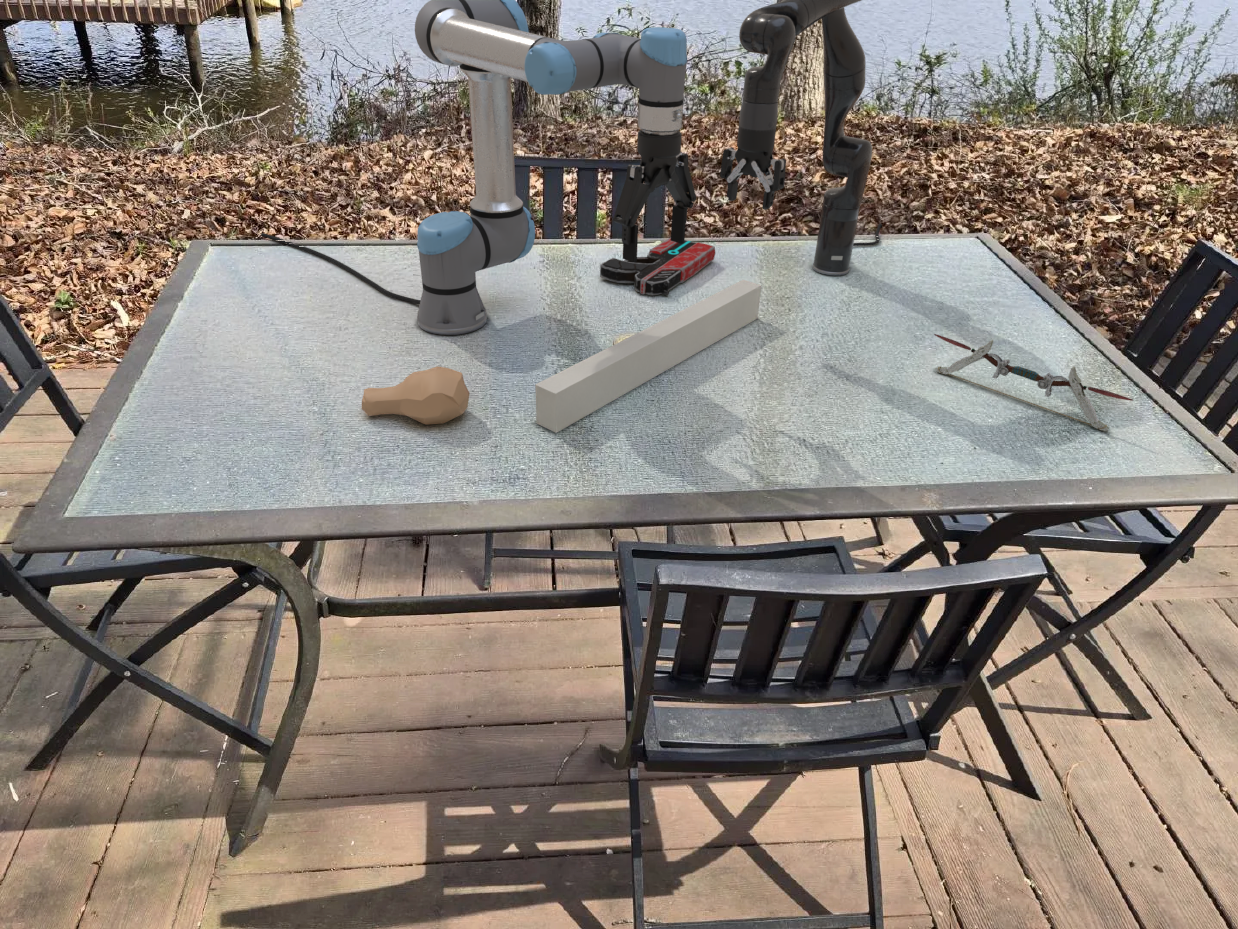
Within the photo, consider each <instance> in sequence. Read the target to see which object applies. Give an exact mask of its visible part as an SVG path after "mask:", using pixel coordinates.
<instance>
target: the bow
mask: <svg viewBox="0 0 1238 929" xmlns="http://www.w3.org/2000/svg"><path fill="white" fill-rule="evenodd" d="M934 336H935V337H937V338H939V339H941V340H943V341H944V342H946V343H948V344H951V345H953V346H956V347H959V348H961V349H963V350H964V349H965V350H968V351H970V352H971V353H972V354H970V355H968V356H965V357H963V358H960V359H958V360H956V361H954V362H953V363H952V364H951V365H949V366H937V367H935V371H936V372H938V373H939V374H942V375H949V376H951V377H954V378H957V379H959V380H962V381H965V382H968V383H970V384H971V383H972V384H973V385H975V386H979V387H983V388H985V389H988V390H991V391H994V392H996V393H999V394H1002V395H1005V396H1007V397H1011V398H1013V399H1016V400H1019V401H1022V402H1024V403H1027V404H1030V405H1033V406H1036V407H1039V408H1041V409H1044V410H1047V411H1050V412H1053V413H1054V414H1059V415H1061V416H1064V417H1067V418H1069V419H1072V420H1075V421H1078V422H1081V423H1084V424H1087V425H1089V426H1092V427H1093V428H1095V429H1097V430H1099V431H1103V432H1107V431H1108V430H1109V429H1110V426H1108V425H1107V424H1105V423H1103V421H1101V420H1100V419H1098V415H1097V412H1096V409H1095V408H1094V405H1093V404H1092V402H1091V400H1090V399H1089V398H1088V396H1086V394H1085V390H1088V391H1090V392H1092V393H1096V394H1099V395H1102V396H1105V397H1110V398H1114V399H1118V400H1125V401H1130V402H1131V401H1132V402H1133V401H1134V399H1132V398H1131V397H1127V396H1124V395H1121V394H1118V393H1116V392H1112V391H1109V390H1105V389H1101V388H1098V387H1093V386H1087V385H1083V384H1082V380H1081V378H1080V376H1079V375H1078V373H1077V368H1076V366H1074V365H1073V366H1072V367H1071V368H1070V371H1069V374H1068V378H1067V377H1065V376H1062V375H1055V376H1054V375H1053V374H1051V373H1050V372H1047V374H1045V375H1044V376H1041V375H1040V374H1039V373H1038V372H1036V371H1035V370H1031V369H1029V368H1026V367H1022V366H1019V365H1013V366H1012V365H1010V363H1011V360H1010V359H1009V358H1008V359H1002V357H1000V355H998V354H996V353H992V352H991V353H989V352H990V351H991V350H992V347H993V344H994V339H991V340H990V341H989V342H987V343H986V344H984V345H983V346H980V347H979V348H977V349H975V348H971V347H970V346H969V345H967V344H964V343H963V342H962V343H961V342H959V341H957V340H954V339H951V338H949V337H946V336H943V335H939V334H936V333H934ZM983 359H985V360H987V361H988V363H990V364H991V365H992V366H993V367H995V368H996V369H995V371H994V372H993V375H992V377H991V378H992V379H995V380H997V379H998V378H999V376H1000V375H1001V376H1003V377H1007V375H1009V373H1010V374H1013V375H1015V376H1019V377H1021V378H1025V379H1027V380H1030V381H1034V382H1037V384H1036V385H1037V387H1038V388H1039V389H1041V390H1045V391H1044V397H1047V398H1050V397H1051V396H1052V391H1053V390H1052V387H1068V388H1069V389H1070V390H1071V392H1072V394H1073V396H1075V398H1076V400H1077V402H1078V404H1079V406H1080V408H1081V410H1082V412H1083V415H1084V416H1085V418H1086V419H1087V422H1086V421H1083V420H1081V419H1078V418H1075V417H1072V416H1071V415H1070V416H1069V415H1067V414H1064V413H1061V412H1057V411H1056V410H1052V409H1050V408H1047V407H1045V406H1042V405H1038V404H1035V403H1033V402H1030V401H1027V400H1025V399H1021V398H1019V397H1016V396H1014V395H1010V394H1007V393H1004V392H1002V391H999V390H996V389H993V388H991V387H987V386H985V385H983V384H979V383H976V382H974V381H971V380H968V379H965V378H963V377H960V376H957V375H954V374H953V373H955V372H959V371H961V370H962V369H964V368H965V367H968V366H970V365H971V364H973V363H976V362H978V361H980V360H983Z"/></svg>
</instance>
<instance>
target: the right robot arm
mask: <svg viewBox="0 0 1238 929" xmlns="http://www.w3.org/2000/svg"><path fill="white" fill-rule="evenodd" d="M861 1H862V0H781V1H779V2H776V3H771V4H768V5H765V6H762V7H760V8H757V9H755V10H753V11H752V12H750V13H748V15H747V16H746V17H745V18H744V20H743V21H742V23H741V25H740V27H739V33H738V39H739V42H740V45H741V47H742V48H743V49H744V50H745V51H747V52H749V53H754V54H760V55H765V56H767V59H766V60H765V63H764V64H763V65H760V66H753V67H749V68H748V69H747V70H746V71H745V74H744V82H743V93H742V101H741V106H740V110H739V118H738V130H737V141H736V147H737V149H735V148H734V147H732V146H731V147H727V148H725V149H724V150H723V151H722V158H721V159H722V160H721V165H720V171H719V172H720V174H719V176H720V178H721V179H724V180H726V182H727V188H726V189H727V190H726V197H727V200H728V201H729V202H734V201H736V200H737V197H738V187H739V181H738V180H739V179H740V178H741V176H742V175H743V176H750V177H752V178H758V181H759V182H760V183H761V184H762V186H763V189H764V192H763V198H762V207H761V208H762V210H764V211H767V210H770V209H771V207H773V204H774V199H775V192H777V191H779V190H782V189H784V188H785V181H786V169H787V160H786V158H780V159H778V158H774V156H773V152H774V149H775V141H776V132H777V124H778V116H779V95H780V89H781V82H782V77H783V74H784V71H785V68H786V65H787V62H788V61H789V60H788V59H789V57H790V54H791V52H792V50H793V48H794V47H793V46H794V44H795V41H796V37H798V36H799V35H800V34H802V33H804V31H806V30H807V29H809V28H810V27H812V26H813V25H814V24H816V23H817V22H818V21H820V20H821V27H822V28H821V29H822V44H823V45H822V46H823V49H822V50H823V67H822V68H823V91H824V92H823V95H824V125H823V126H824V127H823V141H822V142H823V143H822V146H823V147H822V165H823V168H824V171H825V172H826V173H827V174H831V175H834V176H839V177H842V178H846V182H845V185H843V186H839V187H837V186H836V187H832V188H829V189H827V190H825V192H824V195H823V199H822V207H821V213H820V219H819V225H818V226H819V227H818V233H817V238H816V243H815V244H816V246H815V252H814V256H813V257H814V259H813V263H812V269H813V271H815V272H817V273H818V274H822V275H825V276H832V277H833V276H837V277H838V276H844V275H846V274H848V273H849V272H850V266H851V260H852V255H853V250H854V247H868V246H875V245H877V244H878V243H879V242H880V236H879V234H880V230H881V229H882V228H883V224H882V223H881V222H880V223H879V224H878V225H877V228H876V231H875V235H874V236H875V239H876V240H875V241H870V242H855V238H856V232H857V228H858V221H859V216H860V210H861V204H862V200H863V197H864V194H865V191H866V190H865V189H866V186H867V181H868V177H869V172H870V169H871V164H872V159H873V157H872V156H873V145H872V143H871V141H870V140H867V139H865V138H864V139H863V138H858V137H854V136H853V137H852V136H848V135H846V134H845V121H846V118H847V117H848V115H849V113H850V111H851V110H852V109H853V107H854V106H855V104H856V103H857V101H858V100H859V99H860V97H861V95H862V94H863V92H864V89H865V85H866V66H867V65H866V63H867V62H866V54H865V51H864V49H863V46H862V44H861V42H860V40H859V39H858V37H857V34H856V33H855V31H854V30H853V28H852V27H851V25H850V23H849V19H848V18H847V15H846V10H845V8H846V7H848V6H851V5H853V4H857V3H859V2H861ZM734 160H735V161H736V162H737V165H736V166H735V167H734V168H733V163H734ZM770 167H772V170H773V172H772V171H771V168H770ZM732 169H733V170H732ZM876 236H879V237H876ZM877 239H879V240H877Z"/></svg>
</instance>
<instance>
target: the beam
mask: <svg viewBox="0 0 1238 929" xmlns="http://www.w3.org/2000/svg"><path fill="white" fill-rule="evenodd" d="M761 292H762V285H761V284H759V283H755V282H752V281H749V280H746V279H741V280H739V281H737V282H735V283H733V284H732V285H730V286H728V287H727V286H726V288H723V289H721V290H720V291H717V292H715V293H714V294H712V295H710V296H708V297H706V298H704V299H702V300H700V301H697V302H696V303H694V304H692V305H690V306H688V307H686V308H684V309H681V310H680V311H678V312H676V313H674V314H672V315H670V316H668V317H666V318H664V319H662V320H660V321H658V322H656V323H654V324H652V325H651V326H648V327H646V328H644V329H642V330H640V331H638V332H637V333H634V334H632V335H631V336H628V337H626V338H624V339H622V340H620V341H619V342H617V343H615V344H613V345H611V346H609V347H606V348H604V349H603V350H601V351H599V352H596V353H595V354H593V355H591V356H589V357H587V358H585V359H583V360H581V361H579V362H577V363H575V364H573V365H571V366H569V367H567V368H565V369H563V370H561V371H560V372H557V373H555V374H553V375H551V376H549V377H547V378H545V379H543V380H542V381H539V382H537V383H536V384H535V385H534V387H535V388H534V389H535V416H536V417H535V418H536V419H535V420H536V421H535V423H536V424H537V425H539V426H541V427H543V428H545V429H546V430H547V429H548V430H549V431H551V432H553V433H555V434H557V433H559V432H561V431H562V430H564V429H566V428H567V427H569V426H571V425H572V424H575V423H576V422H578V421H581V419H584V418H585V417H587V416H589V415H591V414H592V413H594V412H596V411H597V410H599V409H601V408H603V407H604V406H605V407H606V406H607V405H608V404H610V403H611V402H613V401H615V400H617V399H619V398H620V397H623V396H624V395H625V394H627V393H630V392H631V391H633V390H635V389H636V388H638V387H640V386H641V385H643V384H645V383H647V382H649V381H650V380H652V379H654V378H656V377H657V376H660V375H661V374H663V373H664V372H667V371H668V370H670V369H672V368H673V367H675V366H677V365H678V364H680V363H682V362H684V361H685V360H688V359H689V358H691V357H692V356H695V355H697V353H700V352H701V351H703V350H705V349H707V348H708V347H710V346H712V345H713V344H715V343H717V342H719V341H722V339H724V338H726V337H728V336H729V335H731V334H733V333H735V332H737V331H738V330H740V329H742V328H743V327H745V326H747V325H749V324H751V323H753V322H754V321H756V320H758V318H759V311H760V302H761Z"/></svg>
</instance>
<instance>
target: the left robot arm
mask: <svg viewBox="0 0 1238 929" xmlns="http://www.w3.org/2000/svg"><path fill="white" fill-rule="evenodd" d="M414 36H415V40H416V44H417V46H418V48H419V49H420V50H421V52H422V53H423V54H424V55H425V56H426V57H427V58H428V59H430V60H431V61H433V62H435V63H438V64H441V65H444V66H449V67H458V66H459V70H460V71H461V72H462V73H463V74H464V75H465V76H466V78H467V81H468V82H467V83H468V96H469V110H470V125H471V126H470V127H471V139H472V155H473V169H474V170H473V171H474V186H475V196H474V197H473V198H472V200H470V202H469V212H470V213H469V214H470V215H469V214H468V213H466V212H464V211H458V210H451V211H442V212H438V213H434V214H432V215H429V216H427V217H426V218H424V219H423V220H422V221H421V222H420V224H419V225H418V227H417V230H416V233H417V238H416V239H417V242H416V246H417V250H418V258H419V265H420V266H419V267H420V275H421V276H420V277H421V284H422V292H421V297H420V299H416V298H412V297H408V296H404V295H401V294H398V293H394V292H392V291H389V290H388V289H385V288H384V287H382V286H381V285H379V284H378V283H376V282H374V281H373V280H371V279H369V278H368V277H367V276H365V275H363V274H362V273H360V272H358V271H357V270H355V269H354V268H351V267H350V266H348V265H346V264H344V263H343V262H341V261H339V260H337V259H336V258H333V257H331V256H329V255H327V254H325V253H322V252H320V251H317V250H315V249H313V248H310V247H307V246H304V247H299V246H302V245H301V244H299V245H294V244H289V243H294V242H292V241H290V242H285V241H277V242H279V243H280V244H284V243H287V244H286V245H287V246H290V247H292V248H293V247H294V248H296V249H299V250H302V251H303V252H304V251H305V252H307V253H309V254H313V255H314V256H317V257H319V258H322V259H324V260H326V261H328V262H330V263H332V264H335V265H336V266H338V267H340V268H342V269H343V270H345V271H347V272H349V273H351V274H352V275H354V276H355V277H357V278H358V279H361V280H362V281H364V282H365V283H366V284H368V285H369V286H371V287H373V288H375V289H376V290H378V291H379V292H381V293H382V294H384V295H386V296H388V297H391V298H393V299H397V300H400V301H404V302H408V303H411V304H415V305H418V310H417V317H416V318H417V325H418V326H419V328H420V329H421V330H423V331H424V332H427V333H430V334H433V335H440V336H459V335H465V334H469V333H473V332H476V331H477V330H480V329H481V328H483V327H484V326H485V325H486V323H487V320H488V316H487V310H486V306H485V304H484V302H483V299H482V298H481V295H480V293H479V291H478V288H477V278H476V277H477V276H476V273H477V272H479V271H483V270H487V269H490V268H493V267H497V266H501V265H505V264H508V263H514V262H515V261H517V260H519V259H522V258H525V257H526V256H527V255H528V254H529V253H530V252H531V251H532V248H533V247H534V243H535V239H536V226H535V222H534V220H533V219H532V217H533V216H532V214H531V212H530V211H529V209H527V208H526V207H525V206H524V201H523V200H522V199H521V198H520V197H519V196H518V195H517V193H516V171H515V169H516V168H515V147H514V146H515V145H514V127H513V126H514V124H513V104H512V103H513V102H512V80H511V79H515V80H518V81H522V82H526V83H528V85H529V87H531V88H532V89H533V91H534V92H535V93H537V94H539V95H543V96H547V95H554V96H558V95H562V94H565V93H569V92H570V93H571V92H577V91H583V90H589V89H595V88H596V89H597V88H604V87H609V86H615V85H622V86H623V85H624V86H627V87H628V86H629V87H632V88H636V89H638V109H637V128H639V130H638V131H637V145H636V152H637V153H638V154H639V155H640V162H639V165H635V164H630V163H629V164H628V165H627V168H626V177H625V180H624V184H623V186H622V190H621V193H620V196H619V200H618V203H617V205H616V209H615V212H614V215H613V218H612V221H613V222H614V223H616V224H620V225H621V242H622V259H623V260H628V261H631V262H637V257H638V242H639V240H638V239H639V238H638V237H639V236H638V235H639V225H637V224H636V223H637V221H638V218H639V216H640V214H641V213H642V210H643V209H644V207H645V205H646V202H647V201H648V198H649V197H650V195H651V194H652V193H654V192H655V190H656V189H657V188H660V187H661V186H665V187H666V189H667V191H668V192H669V194H670V196H671V198H672V200H673V201H674V202H675V205H672V208H671V209H672V210H671V224H670V225H671V227H670V237H671V241H674V242H677V243H680V244H683V243H684V240H686V239H685V238H686V225H687V221H688V209H692V208H693V207H694V202H696V201H697V195H696V190H695V187H694V186H695V185H694V183H693V180H692V176H691V171H690V167H689V155H688V154H689V153H685V152H682V137H683V133H682V132H681V131H680V130H681V129H682V128H683V114H684V113H683V112H684V109H683V108H684V100H685V99H684V98H685V84H686V83H685V82H686V71H687V63H688V51H687V50H688V46H687V44H688V43H687V40H688V39H687V35H686V33H685V31H683V30H682V29H680V28H677V27H676V28H675V27H663V26H655V27H647V28H644V29H643V30H642V31H641V34H640V38H639V37H633V36H629V35H623V34H620V33H619V32H599V33H596V34H595V35H594V36H593V37H591V38H581V39H574V40H572V39H571V40H561V39H558V38H557V39H556V38H552V37H549V36H544V35H541V34H536V33H533V32H530V31H529V25H528V21H527V18H526V16H525V13H524V11H523V9H522V7H520V5H519V3H518V2H517V1H516V0H428V1H427V2H426V3H425V4H424V5H423V6H422V7H421V9H419V11H418V13H417V15H416V18H415V22H414ZM260 236H261V237H262V238H265V239H269V240H272V241H275V240H284V239H283V238H280V237H277V236H275V235H271V234H268V233H264V232H261V233H260Z"/></svg>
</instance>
